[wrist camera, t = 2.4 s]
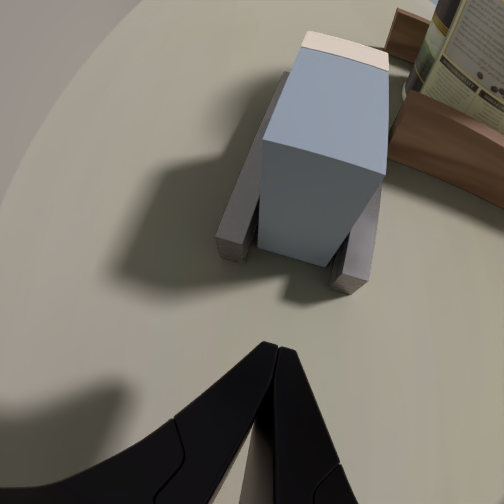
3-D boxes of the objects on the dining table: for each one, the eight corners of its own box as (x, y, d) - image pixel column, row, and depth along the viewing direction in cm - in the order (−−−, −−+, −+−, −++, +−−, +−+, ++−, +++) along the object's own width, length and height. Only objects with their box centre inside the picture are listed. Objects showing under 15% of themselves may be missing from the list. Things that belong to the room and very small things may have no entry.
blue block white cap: (325, 267, 15) (386, 174, 8) (257, 247, 16) (262, 138, 8) (346, 160, 18) (388, 53, 10) (290, 144, 18) (307, 30, 10)
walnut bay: (532, 225, 16) (571, 195, 12) (382, 156, 18) (411, 101, 13) (500, 102, 22) (520, 72, 17) (384, 47, 23) (397, 7, 18)
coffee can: (380, 72, 21) (424, -67, 8) (463, 85, 22) (515, -19, 9) (436, 168, 18) (541, 4, 4) (516, 169, 18) (603, 64, 5)
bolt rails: (351, 294, 15) (368, 281, 12) (220, 256, 15) (214, 236, 13) (375, 125, 19) (386, 100, 16) (281, 99, 19) (283, 71, 17)
